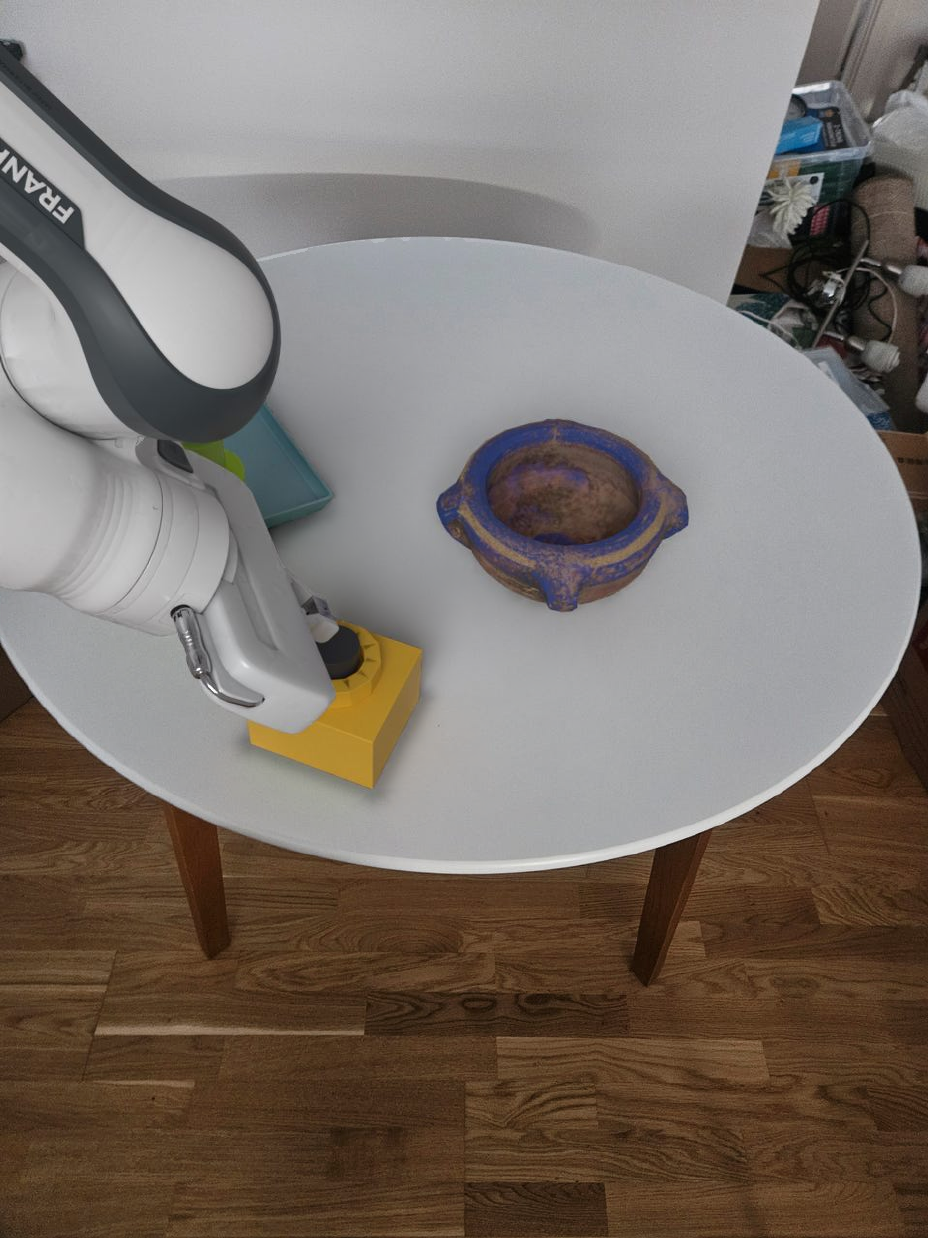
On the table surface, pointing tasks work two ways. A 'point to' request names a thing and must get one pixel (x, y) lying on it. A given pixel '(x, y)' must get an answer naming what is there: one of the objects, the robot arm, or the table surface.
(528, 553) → the bowl
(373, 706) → the yellow push button box
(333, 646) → the black cylinder
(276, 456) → the rectangular tray
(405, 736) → the table surface
